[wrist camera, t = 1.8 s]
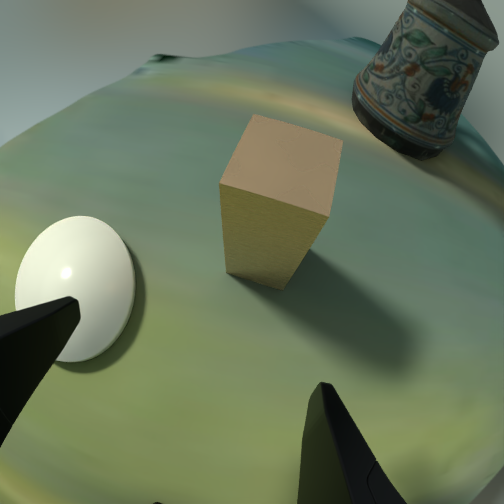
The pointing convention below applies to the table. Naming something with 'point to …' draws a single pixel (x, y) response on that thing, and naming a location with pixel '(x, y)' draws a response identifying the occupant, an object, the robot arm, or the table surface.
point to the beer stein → (424, 75)
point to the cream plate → (81, 281)
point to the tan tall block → (276, 198)
